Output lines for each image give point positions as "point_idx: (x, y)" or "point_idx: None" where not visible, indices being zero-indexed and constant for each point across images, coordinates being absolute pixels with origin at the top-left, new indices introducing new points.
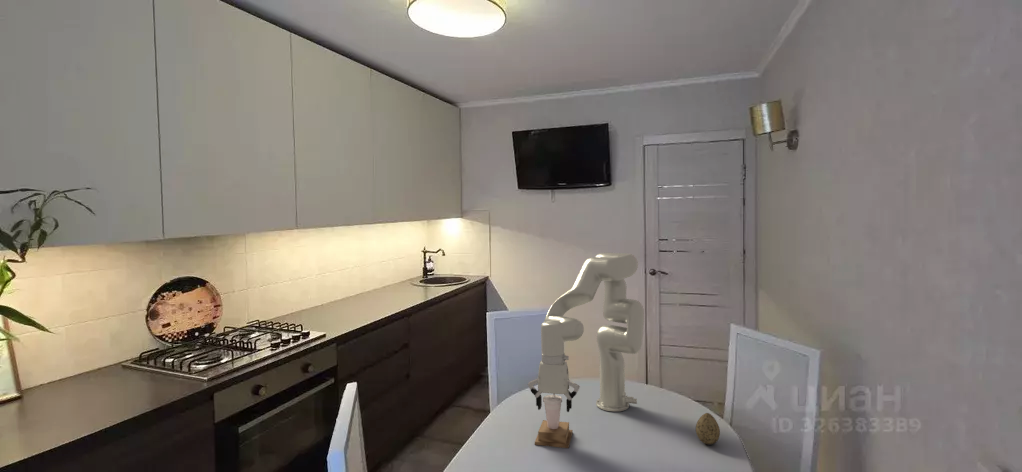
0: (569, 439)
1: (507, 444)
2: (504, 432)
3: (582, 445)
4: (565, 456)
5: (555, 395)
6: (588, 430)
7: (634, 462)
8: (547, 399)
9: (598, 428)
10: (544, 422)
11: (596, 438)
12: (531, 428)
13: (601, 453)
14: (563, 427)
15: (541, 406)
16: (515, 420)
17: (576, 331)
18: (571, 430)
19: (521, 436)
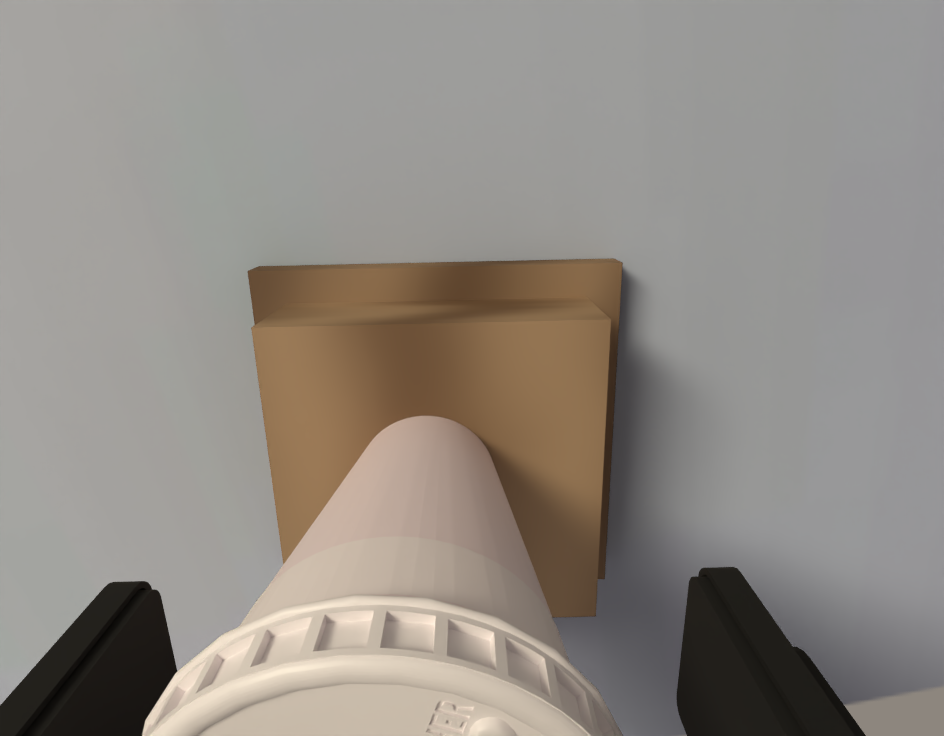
0: (605, 478)
1: (65, 610)
2: None
3: (719, 487)
4: (585, 674)
5: (412, 685)
6: (792, 150)
7: None
8: None
9: (918, 63)
10: (291, 394)
11: (864, 325)
12: (142, 252)
13: (876, 577)
14: (554, 473)
15: (160, 598)
16: None
17: None
18: (611, 276)
19: (117, 450)
